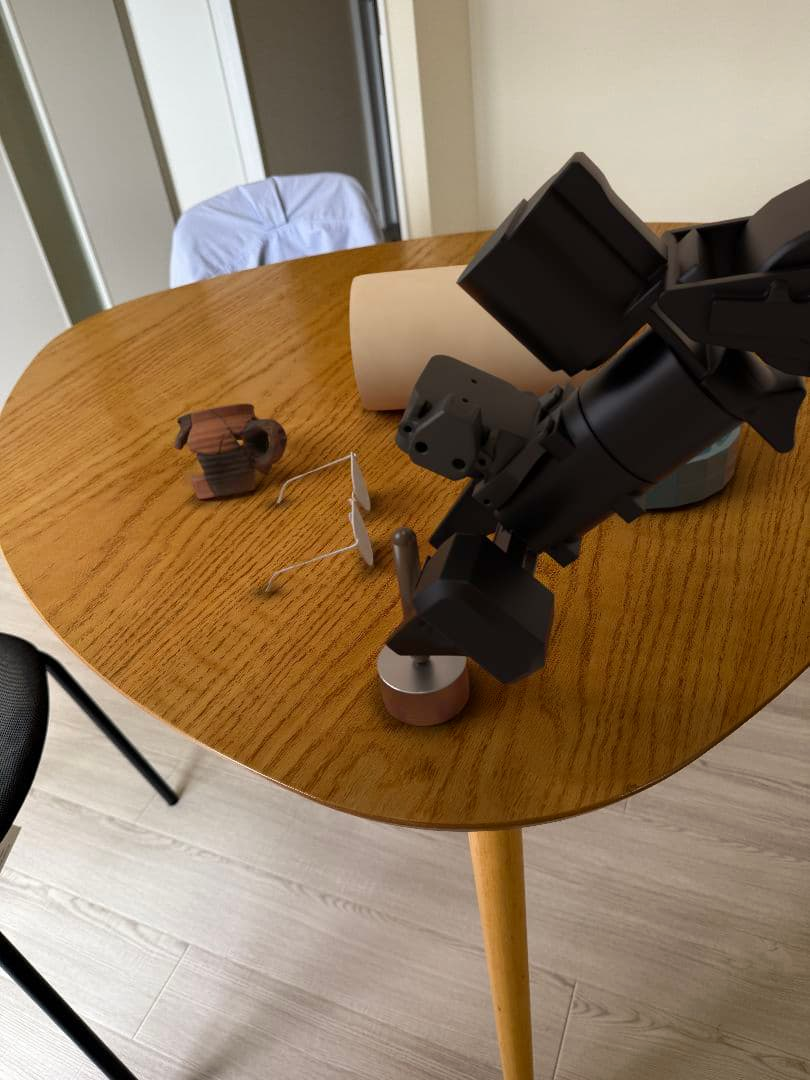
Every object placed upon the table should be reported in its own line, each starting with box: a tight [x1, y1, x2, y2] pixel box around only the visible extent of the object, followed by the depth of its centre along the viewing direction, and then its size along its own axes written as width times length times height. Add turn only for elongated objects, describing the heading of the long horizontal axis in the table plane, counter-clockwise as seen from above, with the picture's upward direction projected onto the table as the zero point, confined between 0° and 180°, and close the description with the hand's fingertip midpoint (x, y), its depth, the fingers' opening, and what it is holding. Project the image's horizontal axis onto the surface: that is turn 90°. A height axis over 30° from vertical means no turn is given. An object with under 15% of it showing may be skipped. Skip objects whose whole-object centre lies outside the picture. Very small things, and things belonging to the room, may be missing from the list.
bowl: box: [646, 425, 742, 510], centre depth 68 cm, size 15×15×4 cm
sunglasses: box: [265, 451, 374, 593], centre depth 65 cm, size 14×8×5 cm, turn 4°
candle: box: [349, 264, 602, 412], centre depth 80 cm, size 14×14×25 cm
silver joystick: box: [376, 526, 471, 727], centre depth 46 cm, size 6×6×13 cm
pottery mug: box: [173, 402, 288, 500], centre depth 75 cm, size 12×10×8 cm
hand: (415, 593), depth 45 cm, fingers open, 9 cm apart
